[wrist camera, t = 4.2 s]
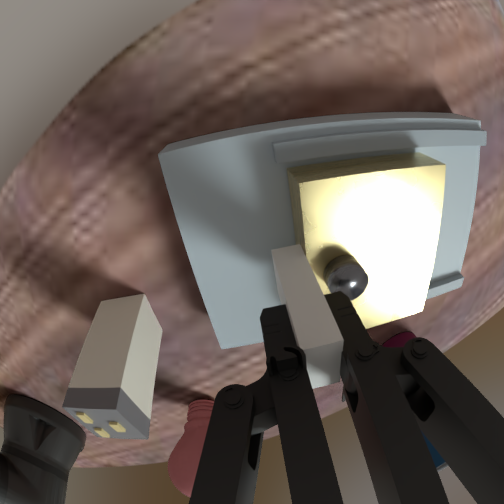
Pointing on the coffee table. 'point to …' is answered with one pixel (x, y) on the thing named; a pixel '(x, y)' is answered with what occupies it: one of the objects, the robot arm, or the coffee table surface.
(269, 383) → the robot arm
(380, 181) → the panel
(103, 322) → the plug
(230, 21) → the coffee table surface
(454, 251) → the socket board
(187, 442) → the light bulb
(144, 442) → the coffee table surface
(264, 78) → the coffee table surface
